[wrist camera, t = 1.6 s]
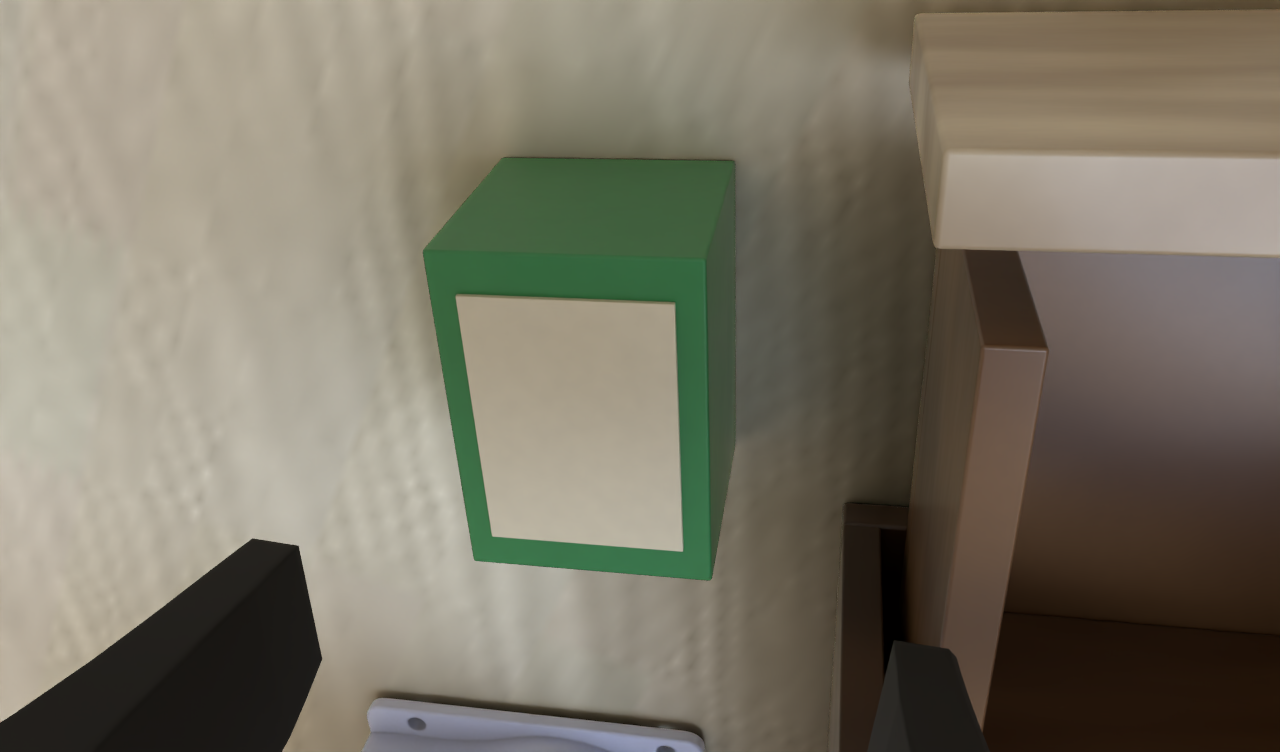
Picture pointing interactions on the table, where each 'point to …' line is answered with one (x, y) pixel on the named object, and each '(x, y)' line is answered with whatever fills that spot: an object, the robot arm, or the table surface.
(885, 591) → the cabinet
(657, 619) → the table surface
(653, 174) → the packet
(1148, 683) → the drawer
